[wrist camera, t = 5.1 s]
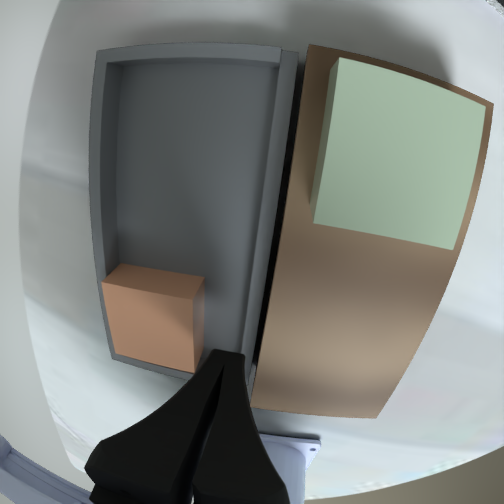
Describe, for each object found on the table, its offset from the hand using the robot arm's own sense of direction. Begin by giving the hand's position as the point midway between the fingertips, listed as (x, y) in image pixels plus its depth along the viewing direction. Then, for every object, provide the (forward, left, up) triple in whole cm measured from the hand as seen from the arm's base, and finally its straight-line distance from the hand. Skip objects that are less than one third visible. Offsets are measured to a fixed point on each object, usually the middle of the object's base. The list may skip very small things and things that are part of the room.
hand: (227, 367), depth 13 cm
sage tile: (+9, -4, -1) cm, 10 cm away
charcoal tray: (+4, +3, -4) cm, 7 cm away
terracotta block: (0, +4, -1) cm, 4 cm away
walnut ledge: (+4, -5, -4) cm, 8 cm away
